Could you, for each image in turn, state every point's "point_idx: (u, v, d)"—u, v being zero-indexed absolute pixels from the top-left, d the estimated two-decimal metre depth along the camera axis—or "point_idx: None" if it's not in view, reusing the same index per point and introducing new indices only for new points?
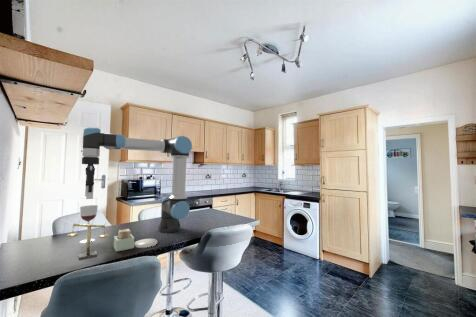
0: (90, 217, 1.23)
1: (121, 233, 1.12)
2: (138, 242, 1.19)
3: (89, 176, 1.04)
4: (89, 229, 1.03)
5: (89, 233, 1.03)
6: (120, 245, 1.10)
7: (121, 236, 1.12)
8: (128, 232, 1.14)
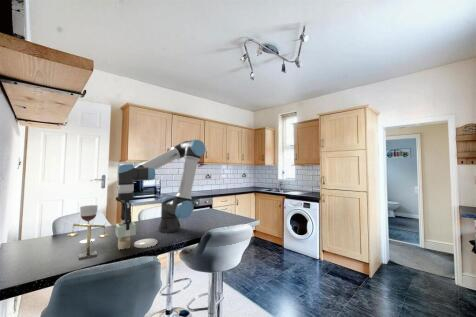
0: (90, 217, 1.23)
1: None
2: (138, 242, 1.19)
3: (127, 215, 1.10)
4: (89, 229, 1.03)
5: (89, 233, 1.03)
6: (122, 232, 1.11)
7: None
8: None
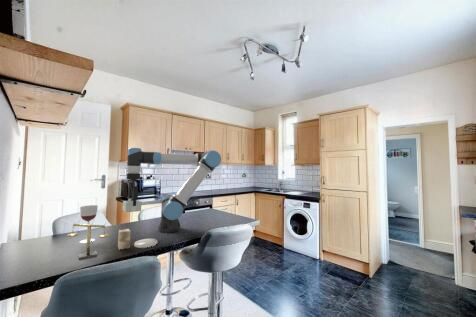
0: (90, 217, 1.23)
1: (121, 233, 1.12)
2: (138, 242, 1.19)
3: (134, 192, 1.23)
4: (89, 229, 1.03)
5: (89, 233, 1.03)
6: (129, 207, 1.24)
7: (121, 236, 1.12)
8: (128, 232, 1.14)
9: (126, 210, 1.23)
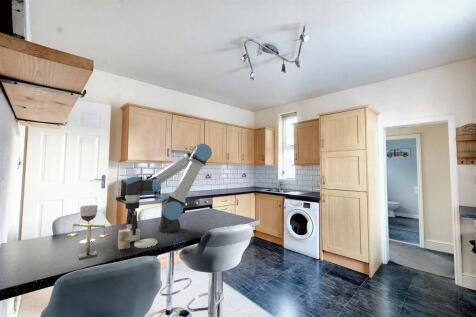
0: (90, 217, 1.23)
1: (121, 233, 1.12)
2: (138, 242, 1.19)
3: (133, 221, 1.22)
4: (89, 229, 1.03)
5: (89, 233, 1.03)
6: None
7: (121, 236, 1.12)
8: (128, 232, 1.14)
9: None
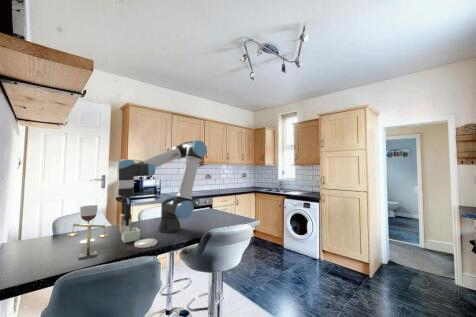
0: (90, 217, 1.23)
1: (122, 217, 1.13)
2: (138, 242, 1.19)
3: (126, 211, 1.11)
4: (89, 229, 1.03)
5: (89, 233, 1.03)
6: (127, 237, 1.23)
7: (122, 220, 1.13)
8: None
9: (125, 240, 1.22)
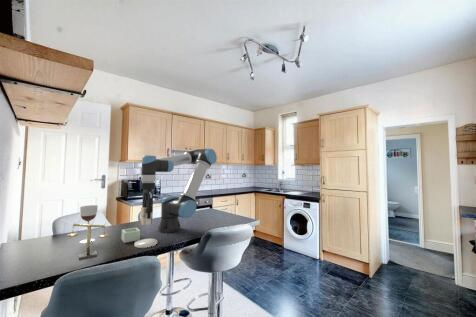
0: (90, 217, 1.23)
1: (144, 210, 1.18)
2: (138, 242, 1.19)
3: (149, 204, 1.16)
4: (89, 229, 1.03)
5: (89, 233, 1.03)
6: (127, 237, 1.23)
7: (144, 212, 1.18)
8: None
9: (125, 240, 1.22)
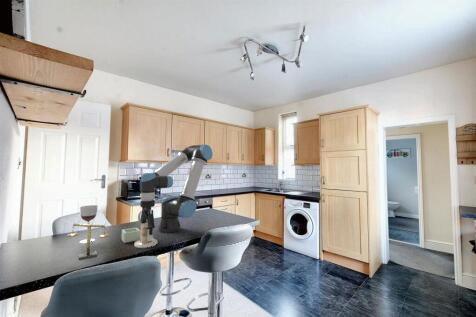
0: (90, 217, 1.23)
1: (144, 228, 1.17)
2: (138, 242, 1.19)
3: (150, 220, 1.14)
4: (89, 229, 1.03)
5: (89, 233, 1.03)
6: (127, 237, 1.23)
7: (144, 231, 1.17)
8: None
9: (125, 240, 1.22)
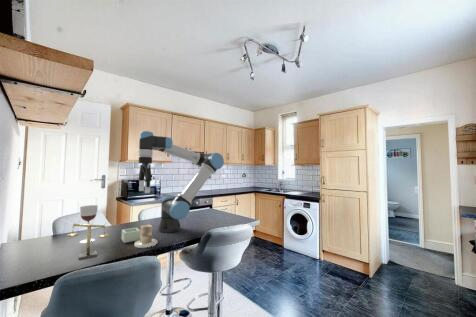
0: (90, 217, 1.23)
1: (144, 228, 1.17)
2: (138, 242, 1.19)
3: (147, 173, 1.21)
4: (89, 229, 1.03)
5: (89, 233, 1.03)
6: (127, 237, 1.23)
7: (144, 231, 1.17)
8: (150, 227, 1.19)
9: (125, 240, 1.22)
